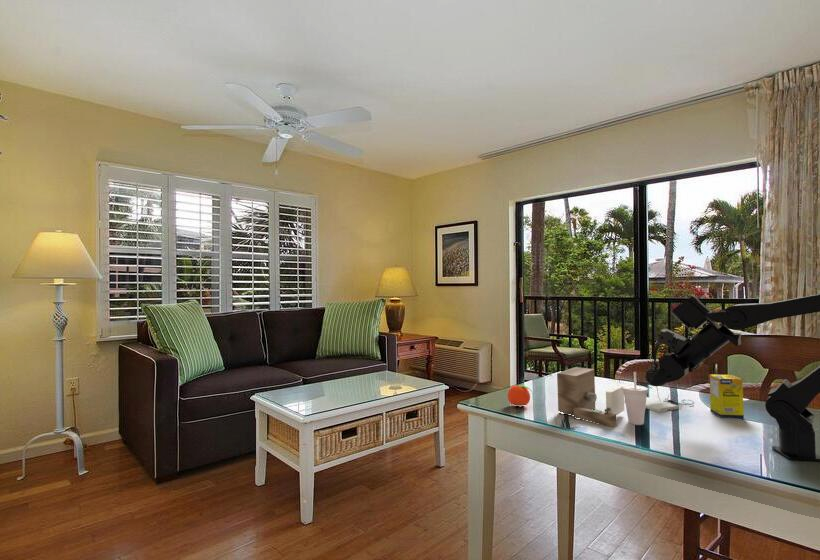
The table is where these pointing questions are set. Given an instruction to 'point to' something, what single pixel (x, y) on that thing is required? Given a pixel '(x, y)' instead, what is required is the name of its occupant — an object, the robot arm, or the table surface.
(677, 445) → the table surface
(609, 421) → the brown blocky piece
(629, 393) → the smoothie
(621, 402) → the cream flat box
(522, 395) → the clementine
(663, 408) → the external hard drive
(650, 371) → the headphones
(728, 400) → the supplement box
